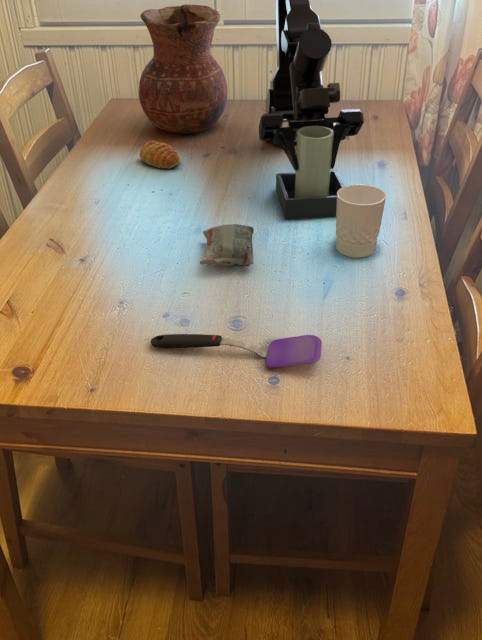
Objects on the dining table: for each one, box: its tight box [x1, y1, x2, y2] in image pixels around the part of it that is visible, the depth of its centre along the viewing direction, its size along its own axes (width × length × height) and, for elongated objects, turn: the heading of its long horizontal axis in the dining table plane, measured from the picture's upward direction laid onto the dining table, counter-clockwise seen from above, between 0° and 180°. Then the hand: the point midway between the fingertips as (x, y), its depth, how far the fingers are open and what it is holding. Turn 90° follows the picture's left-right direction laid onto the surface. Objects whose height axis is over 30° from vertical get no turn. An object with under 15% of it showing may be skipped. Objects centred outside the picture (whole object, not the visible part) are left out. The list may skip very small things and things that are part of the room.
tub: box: [275, 169, 346, 221], centre depth 131 cm, size 12×12×4 cm
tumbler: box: [294, 126, 334, 198], centre depth 127 cm, size 6×6×13 cm
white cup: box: [335, 183, 387, 259], centre depth 115 cm, size 8×8×10 cm
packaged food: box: [199, 223, 255, 268], centre depth 115 cm, size 9×12×5 cm
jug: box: [138, 3, 228, 135], centre depth 160 cm, size 22×21×25 cm
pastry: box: [139, 140, 181, 169], centre depth 148 cm, size 9×7×4 cm
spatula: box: [150, 333, 323, 369], centre depth 95 cm, size 24×7×2 cm, turn 79°
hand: (314, 169), depth 126 cm, fingers closed on tumbler, 6 cm apart
